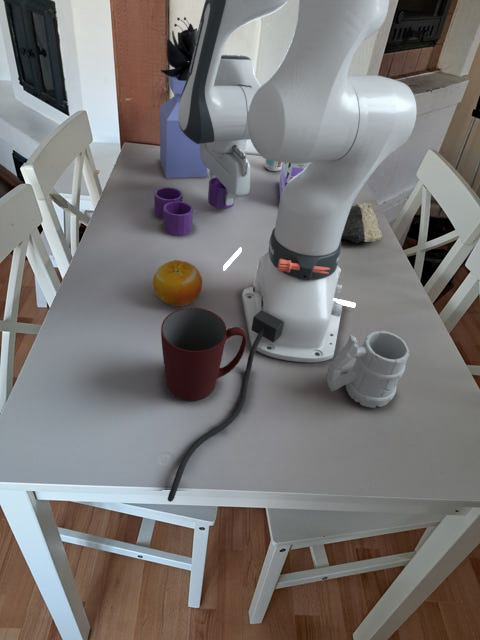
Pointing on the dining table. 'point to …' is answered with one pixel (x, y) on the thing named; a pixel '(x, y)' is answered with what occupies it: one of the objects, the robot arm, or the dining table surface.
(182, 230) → the dish
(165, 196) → the purple cup
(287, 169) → the candy box
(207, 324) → the mug
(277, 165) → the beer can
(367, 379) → the mug
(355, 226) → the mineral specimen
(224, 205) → the purple short cylinder
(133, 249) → the dining table surface
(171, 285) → the fruit
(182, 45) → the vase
